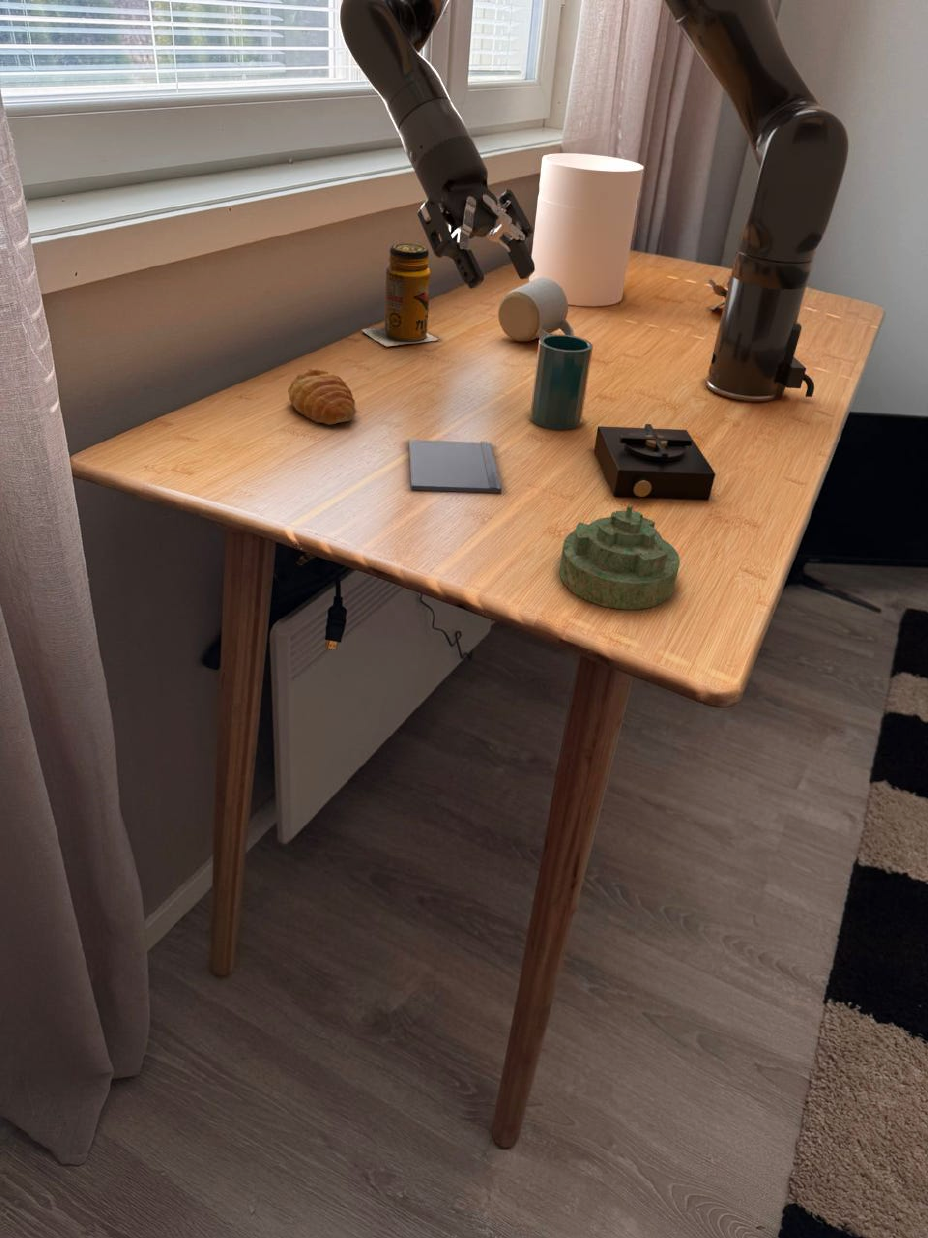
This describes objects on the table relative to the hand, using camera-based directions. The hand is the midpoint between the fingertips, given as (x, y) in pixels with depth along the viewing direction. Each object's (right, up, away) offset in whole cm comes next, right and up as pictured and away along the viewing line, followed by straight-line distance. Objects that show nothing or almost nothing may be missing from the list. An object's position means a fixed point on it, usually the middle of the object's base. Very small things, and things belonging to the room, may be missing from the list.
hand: (503, 279), depth 108 cm
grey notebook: (-6, -24, -11) cm, 27 cm away
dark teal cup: (+6, -16, +2) cm, 17 cm away
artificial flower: (+38, +7, +39) cm, 55 cm away
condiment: (-14, 0, +23) cm, 27 cm away
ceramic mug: (+6, +1, +27) cm, 27 cm away
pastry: (-21, -15, -1) cm, 26 cm away
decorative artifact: (+9, -36, -27) cm, 46 cm away
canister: (+14, +16, +49) cm, 53 cm away
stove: (+15, -24, -9) cm, 30 cm away
